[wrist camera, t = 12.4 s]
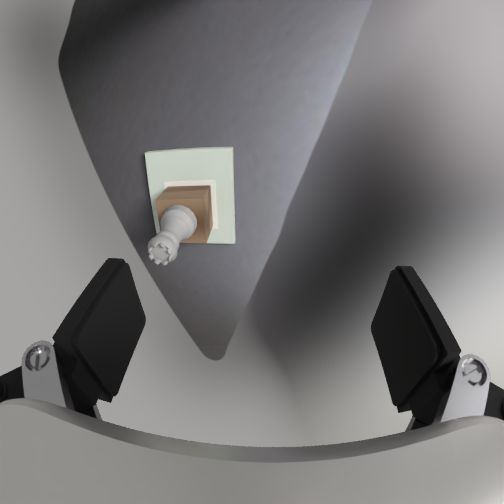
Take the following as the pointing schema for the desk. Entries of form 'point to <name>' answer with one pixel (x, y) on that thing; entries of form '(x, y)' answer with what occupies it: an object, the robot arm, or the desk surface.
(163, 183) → the build board
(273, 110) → the desk surface
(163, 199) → the walnut block
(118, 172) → the desk surface
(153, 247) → the rook chess piece
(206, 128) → the desk surface
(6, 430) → the robot arm
